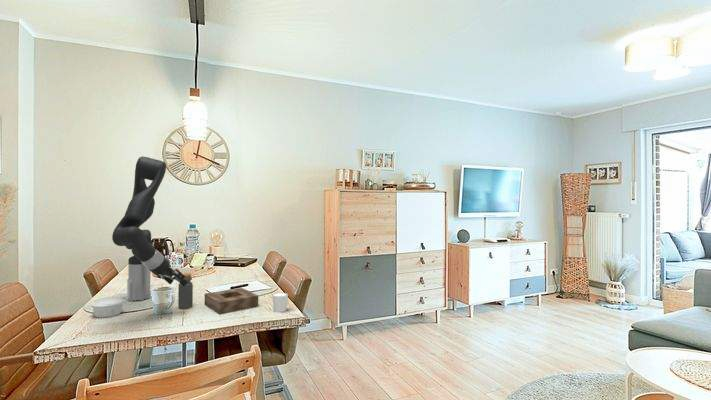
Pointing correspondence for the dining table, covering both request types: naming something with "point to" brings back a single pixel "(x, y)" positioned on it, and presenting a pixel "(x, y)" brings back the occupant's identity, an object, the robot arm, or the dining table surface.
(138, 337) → the dining table surface
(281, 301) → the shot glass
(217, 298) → the holder block
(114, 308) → the ramekin
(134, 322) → the dining table surface
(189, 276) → the bottle
